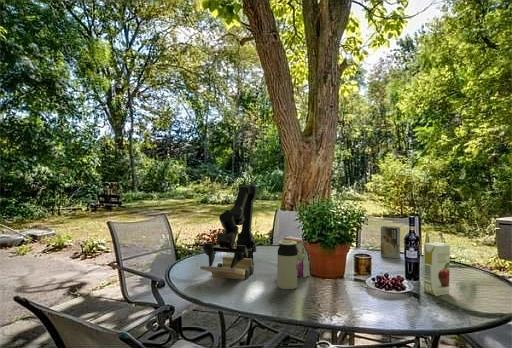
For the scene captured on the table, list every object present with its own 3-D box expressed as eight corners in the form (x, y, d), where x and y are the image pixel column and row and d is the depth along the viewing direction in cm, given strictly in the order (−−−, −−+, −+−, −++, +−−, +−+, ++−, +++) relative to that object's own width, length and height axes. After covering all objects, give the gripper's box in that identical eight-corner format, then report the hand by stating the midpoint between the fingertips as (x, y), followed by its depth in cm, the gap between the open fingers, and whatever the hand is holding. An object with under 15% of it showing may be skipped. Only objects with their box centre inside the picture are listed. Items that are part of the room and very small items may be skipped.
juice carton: (419, 291, 147) (420, 242, 147) (436, 288, 151) (436, 241, 151) (436, 297, 141) (436, 246, 140) (452, 294, 144) (453, 244, 144)
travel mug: (274, 288, 150) (275, 243, 149) (280, 283, 157) (280, 239, 157) (294, 291, 147) (294, 244, 147) (299, 285, 154) (299, 241, 154)
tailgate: (213, 269, 165) (200, 265, 152) (243, 272, 161) (233, 268, 149) (212, 272, 165) (200, 268, 152) (243, 275, 161) (233, 271, 148)
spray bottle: (282, 273, 171) (283, 237, 171) (289, 271, 175) (290, 235, 175) (303, 278, 164) (303, 240, 164) (309, 276, 167) (310, 239, 167)
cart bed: (220, 269, 178) (221, 256, 178) (254, 272, 173) (254, 258, 173) (210, 276, 165) (210, 262, 165) (246, 279, 161) (246, 265, 161)
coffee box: (400, 256, 207) (400, 227, 207) (397, 258, 202) (397, 228, 202) (383, 254, 212) (383, 225, 212) (380, 256, 207) (380, 227, 207)
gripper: (204, 224, 162) (193, 255, 151) (246, 226, 157) (237, 258, 146) (211, 239, 170) (201, 270, 159) (251, 241, 164) (243, 273, 154)
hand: (220, 267), depth 154 cm, fingers open, 9 cm apart
